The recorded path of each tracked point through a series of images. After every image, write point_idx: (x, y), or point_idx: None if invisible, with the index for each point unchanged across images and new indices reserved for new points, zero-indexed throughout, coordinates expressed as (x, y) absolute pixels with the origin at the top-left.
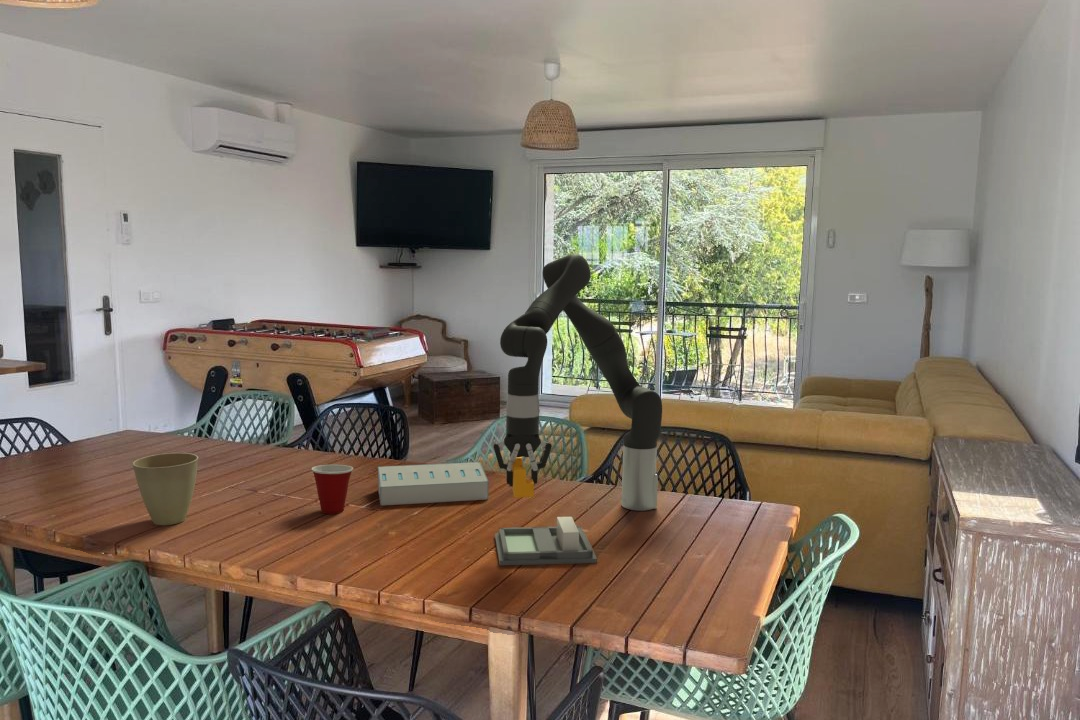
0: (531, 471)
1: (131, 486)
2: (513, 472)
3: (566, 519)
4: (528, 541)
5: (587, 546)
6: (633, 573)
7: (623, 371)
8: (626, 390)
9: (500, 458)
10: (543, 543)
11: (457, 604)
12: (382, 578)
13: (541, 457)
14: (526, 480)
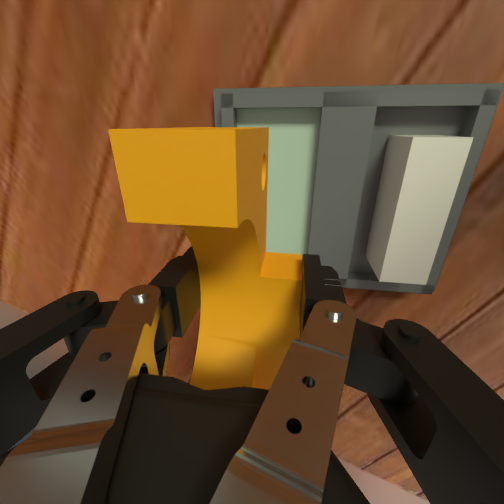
0: (301, 333)
1: None
2: (195, 232)
3: (437, 169)
4: (298, 171)
5: (434, 264)
6: (479, 338)
7: None
8: None
9: (42, 407)
10: (326, 232)
11: (169, 376)
12: (47, 291)
13: (422, 392)
14: (262, 366)
